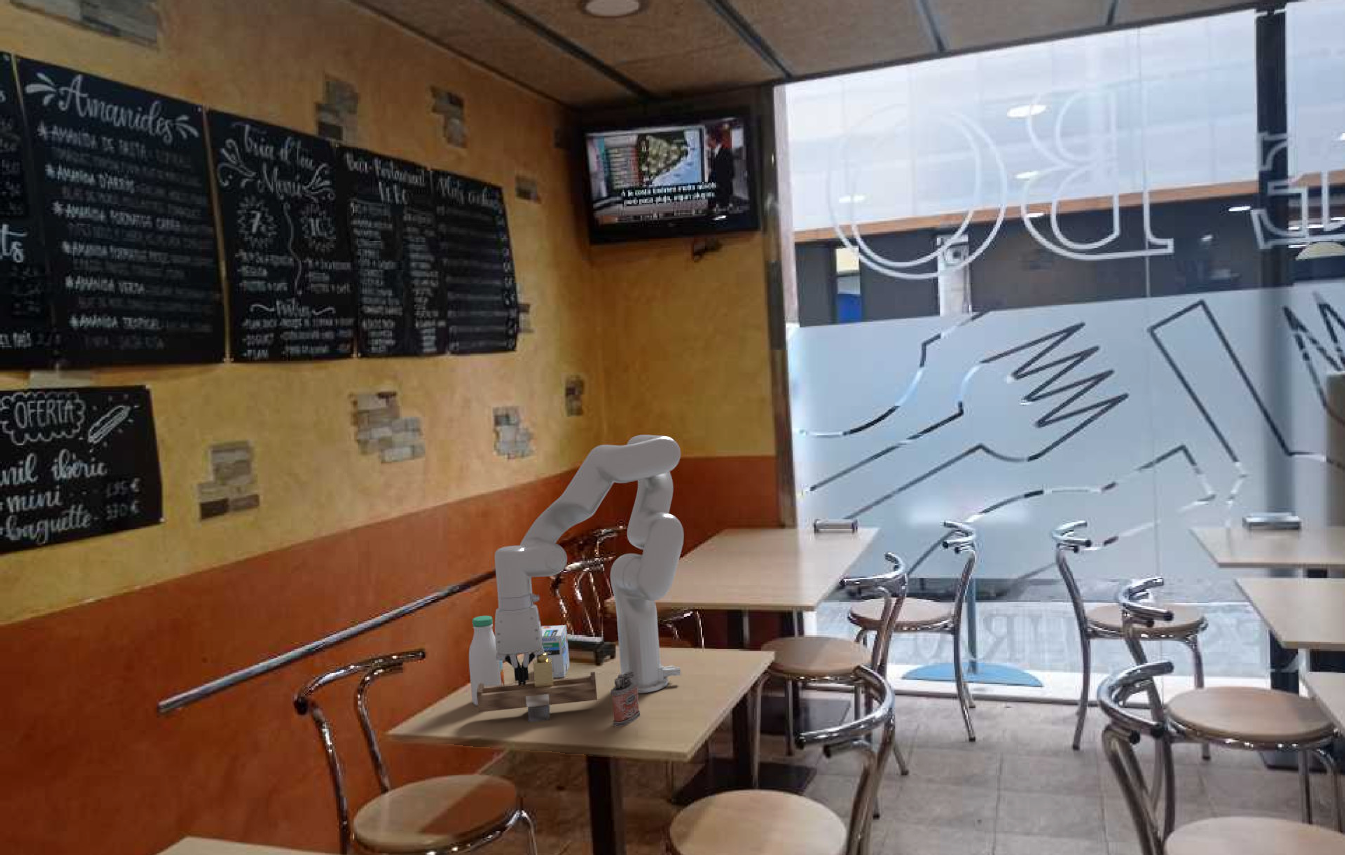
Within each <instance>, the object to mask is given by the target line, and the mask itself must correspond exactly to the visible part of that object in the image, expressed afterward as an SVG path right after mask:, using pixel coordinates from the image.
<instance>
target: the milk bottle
mask: <svg viewBox="0 0 1345 855" xmlns="http://www.w3.org/2000/svg"><path fill="white" fill-rule="evenodd" d="M493 622H494V620H493V617H492V616H491V615H480V616H476V617H474V618H473V619H472V628H473V629H474V630H473V637H472V640H471V643H470V646H469V651H468V664H469V676H470V677H469V678H470V680H469V681H470V688H471V689H470V690H471V698H472V699H471V701H472V703H473V705H475V706H477V707H478V701H477V689H478V686H479V684H481V683H484V687H486V686H496V685H506V684H505V675H504V674H505V673H504V672H505V671H504V663H503V662H504V661H502V660H496V652H497V651H496V643H495V632H494V630H493V626H494V625H493Z"/></svg>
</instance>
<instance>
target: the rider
mask: <svg viewBox="0 0 1345 855" xmlns="http://www.w3.org/2000/svg"><path fill="white" fill-rule="evenodd" d="M532 662H533V664H532V665H533V678H534V682H535V688H542V687H551V686H554V683H553V680H554V678H553V671H552V658H549V659H548V657H547V653H546V652H544V654H543V655H537V658H536V659H533V660H532Z"/></svg>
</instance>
